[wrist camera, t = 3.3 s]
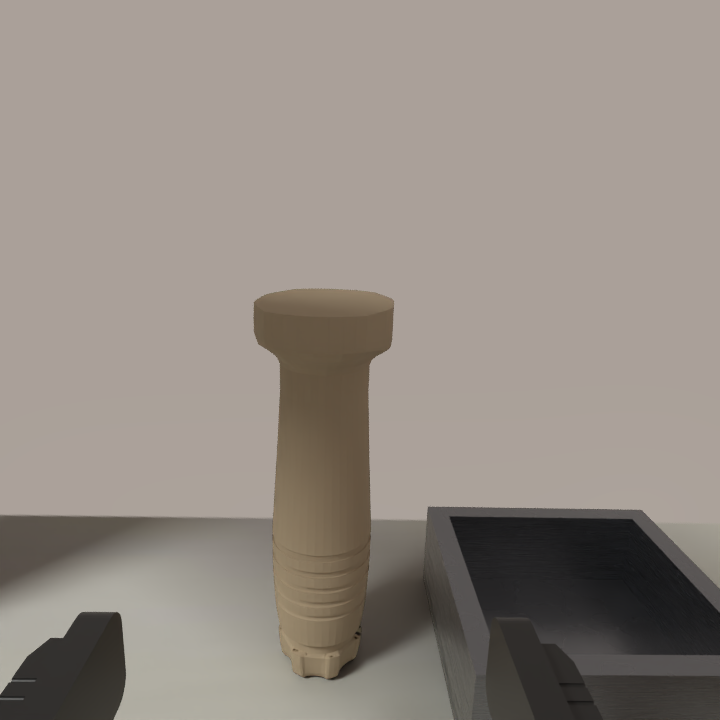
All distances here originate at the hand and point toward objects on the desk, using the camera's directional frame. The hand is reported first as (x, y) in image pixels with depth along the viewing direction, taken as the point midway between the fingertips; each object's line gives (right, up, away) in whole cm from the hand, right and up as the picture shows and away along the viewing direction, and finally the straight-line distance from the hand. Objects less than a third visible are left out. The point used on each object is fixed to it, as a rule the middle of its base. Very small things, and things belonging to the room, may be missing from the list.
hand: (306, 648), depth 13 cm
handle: (-1, -6, +12) cm, 14 cm away
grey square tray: (+10, -6, +12) cm, 17 cm away
